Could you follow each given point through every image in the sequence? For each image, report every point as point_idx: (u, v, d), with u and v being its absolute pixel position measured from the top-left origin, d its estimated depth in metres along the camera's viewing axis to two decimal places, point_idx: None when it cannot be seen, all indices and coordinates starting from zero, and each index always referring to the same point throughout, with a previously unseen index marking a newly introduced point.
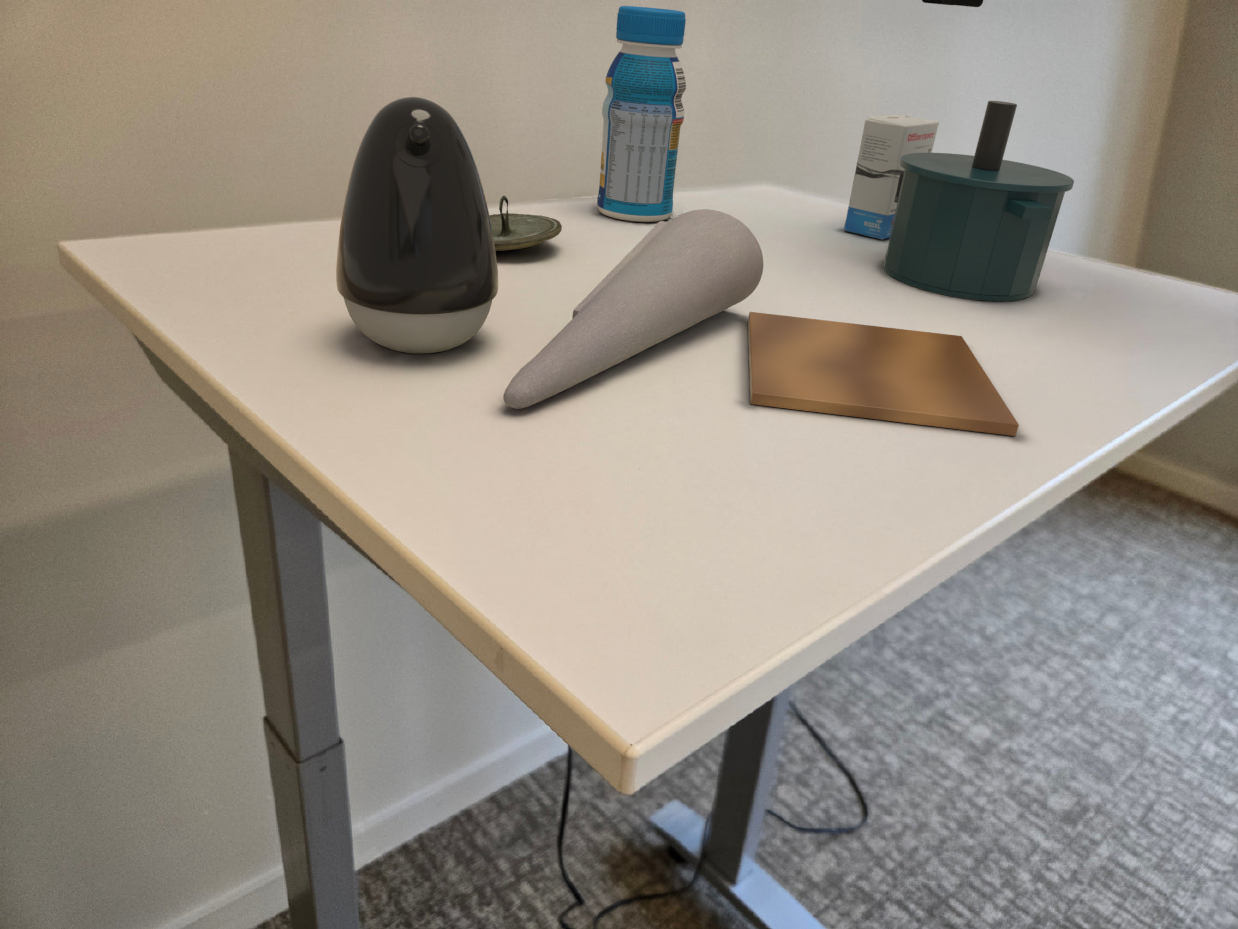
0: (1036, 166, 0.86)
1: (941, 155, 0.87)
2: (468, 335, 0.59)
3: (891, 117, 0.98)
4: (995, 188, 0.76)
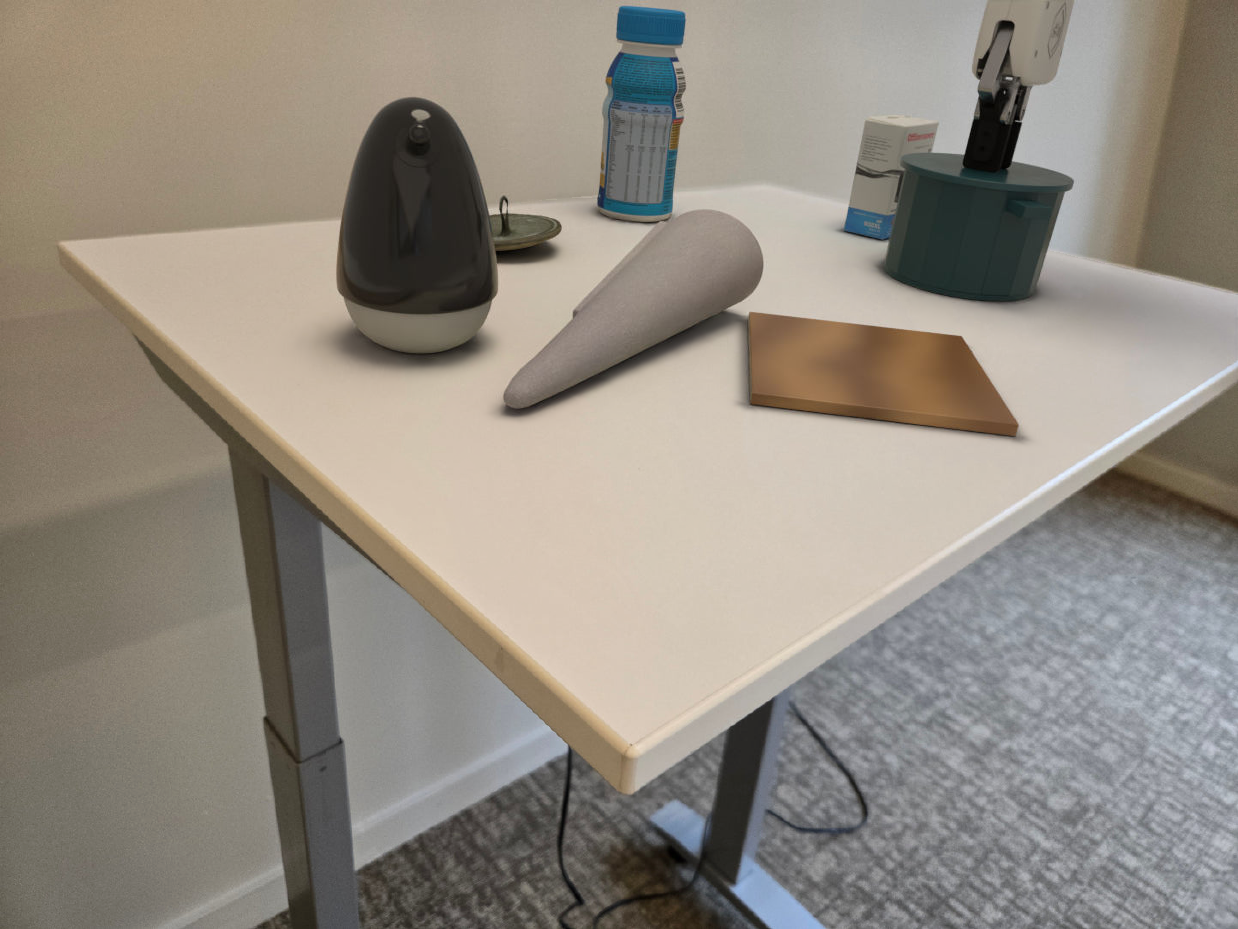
0: (1036, 166, 0.86)
1: (941, 155, 0.87)
2: (468, 335, 0.59)
3: (891, 117, 0.98)
4: (995, 188, 0.76)
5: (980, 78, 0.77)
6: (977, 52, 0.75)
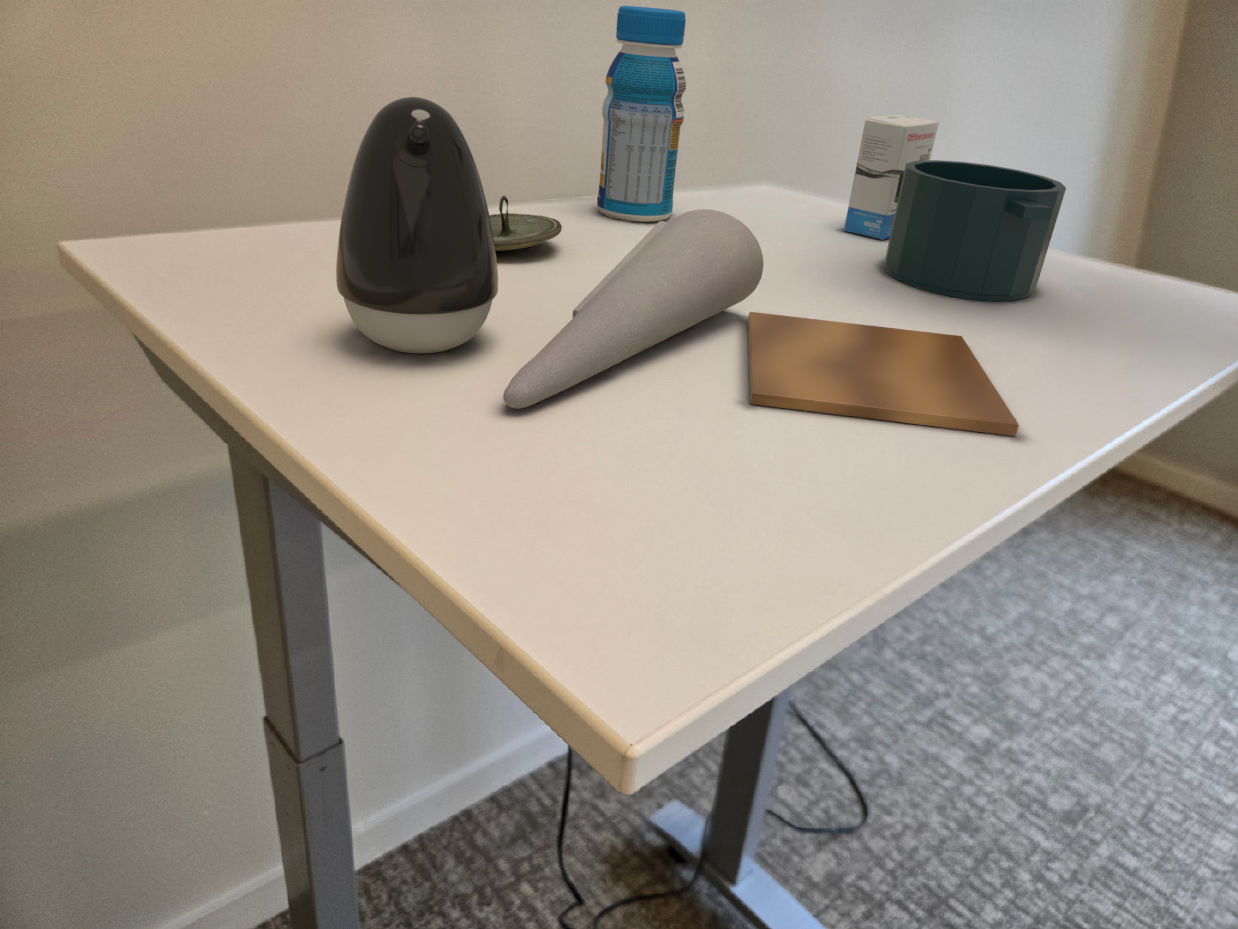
0: None
1: None
2: (468, 335, 0.59)
3: (891, 117, 0.98)
4: None
5: None
6: None
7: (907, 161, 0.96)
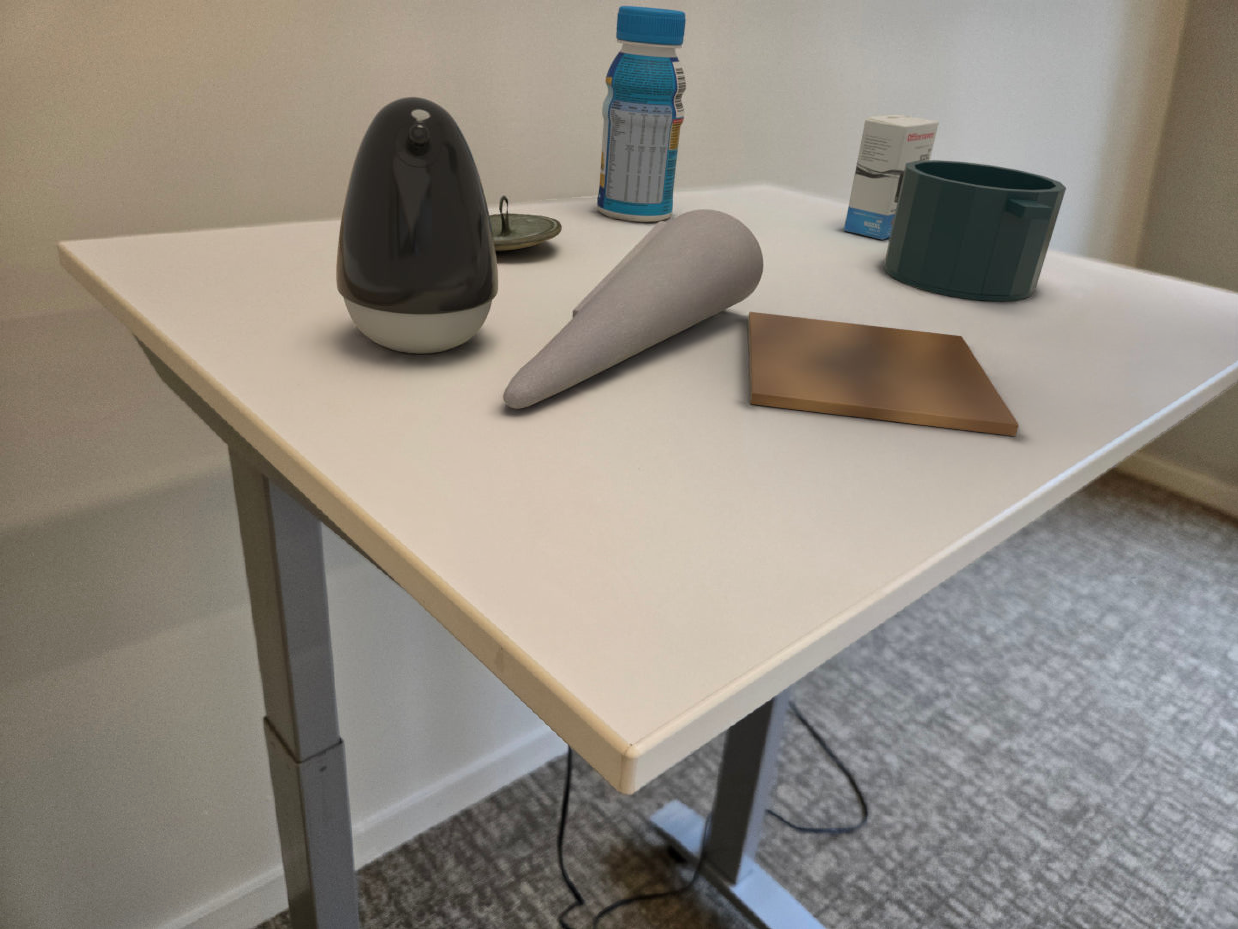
0: None
1: None
2: (468, 335, 0.59)
3: (891, 117, 0.98)
4: None
5: None
6: None
7: (907, 161, 0.96)
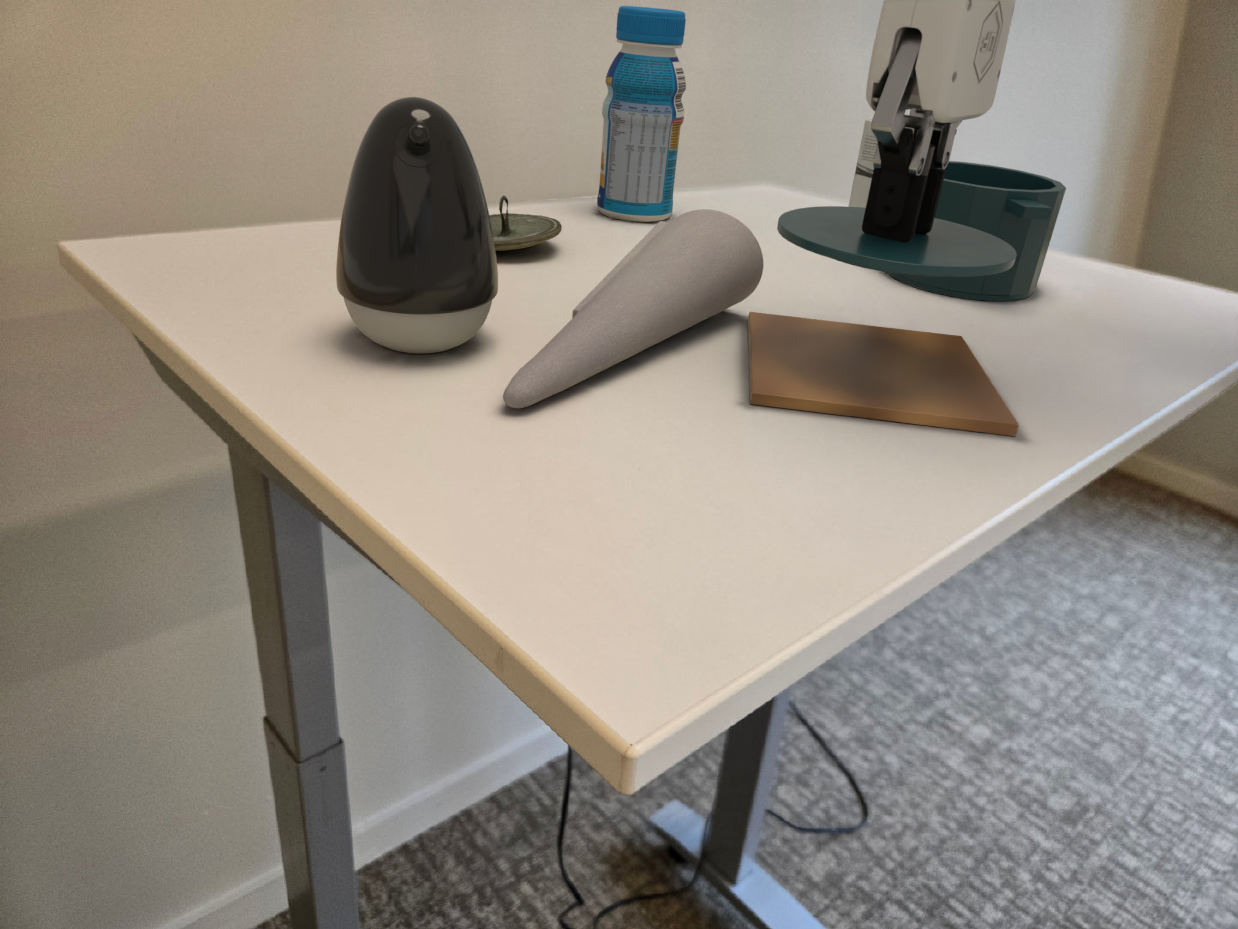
0: (969, 227, 0.62)
1: (840, 211, 0.63)
2: (468, 335, 0.59)
3: None
4: (898, 270, 0.52)
5: None
6: (871, 73, 0.52)
7: None
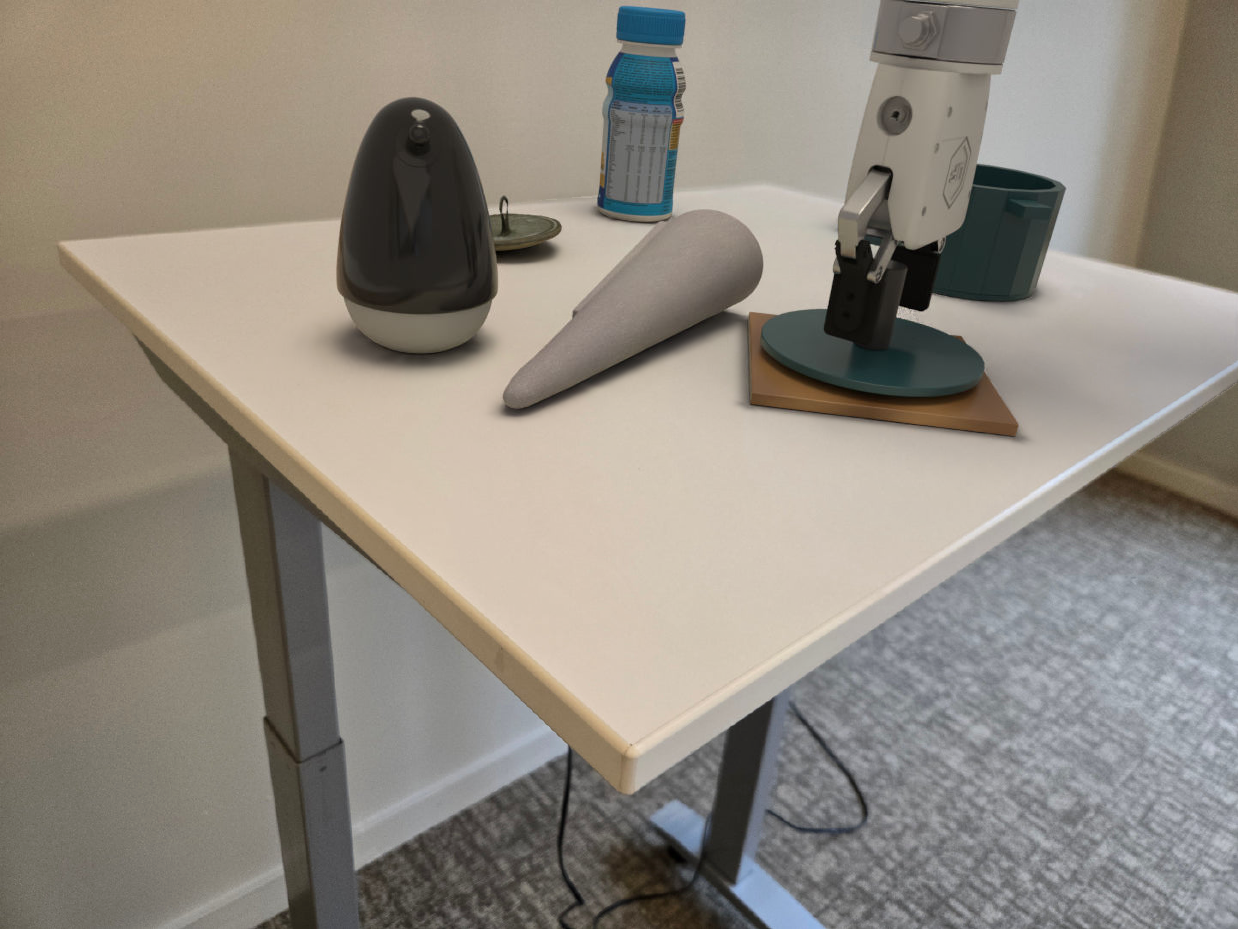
0: (943, 332, 0.66)
1: (821, 315, 0.67)
2: (468, 335, 0.59)
3: None
4: (871, 391, 0.56)
5: None
6: None
7: None
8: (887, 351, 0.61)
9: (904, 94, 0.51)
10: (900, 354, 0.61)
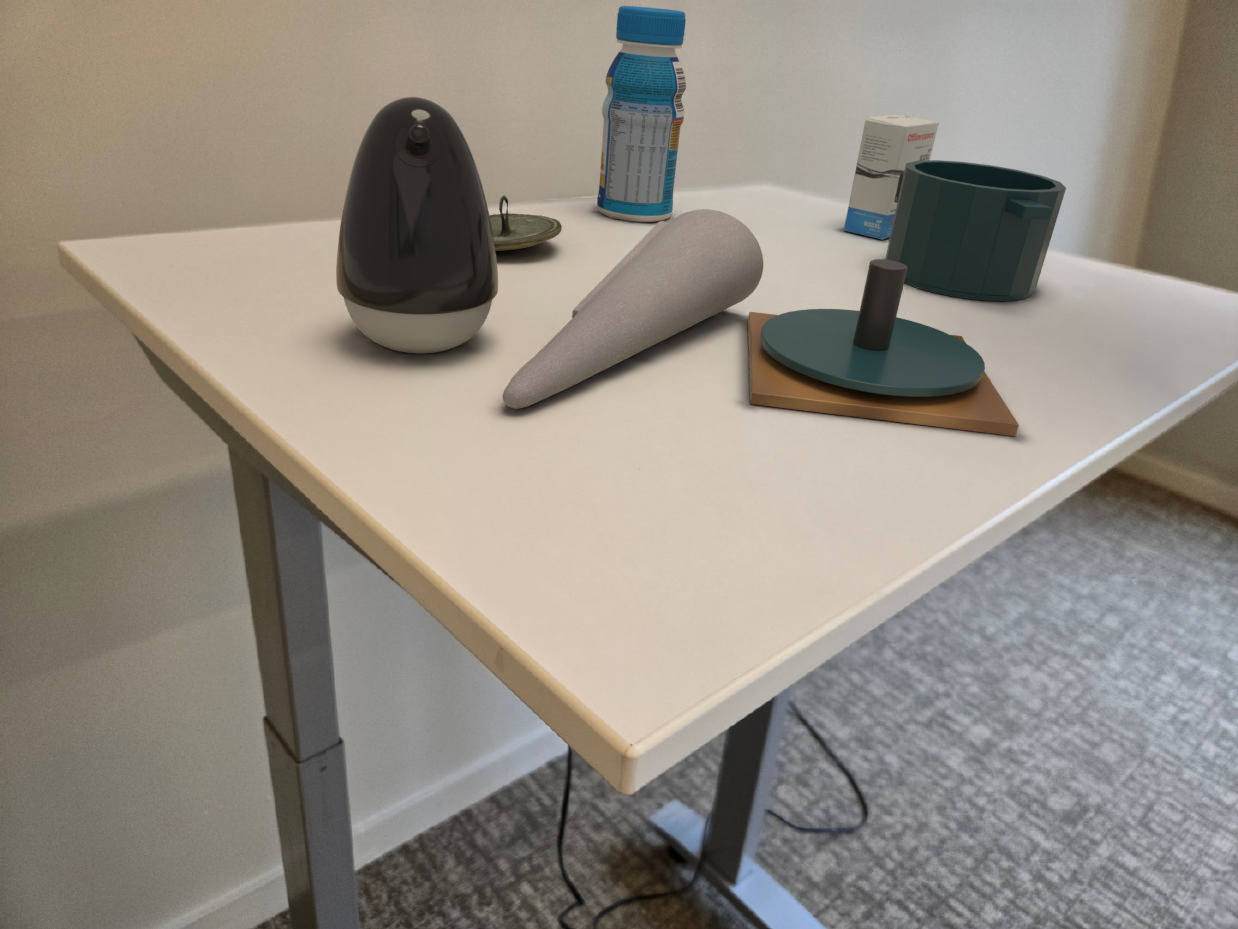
0: (943, 332, 0.66)
1: (821, 315, 0.67)
2: (468, 335, 0.59)
3: (891, 117, 0.98)
4: (871, 391, 0.56)
5: None
6: None
7: (907, 161, 0.96)
8: (887, 351, 0.61)
9: None
10: (900, 354, 0.61)
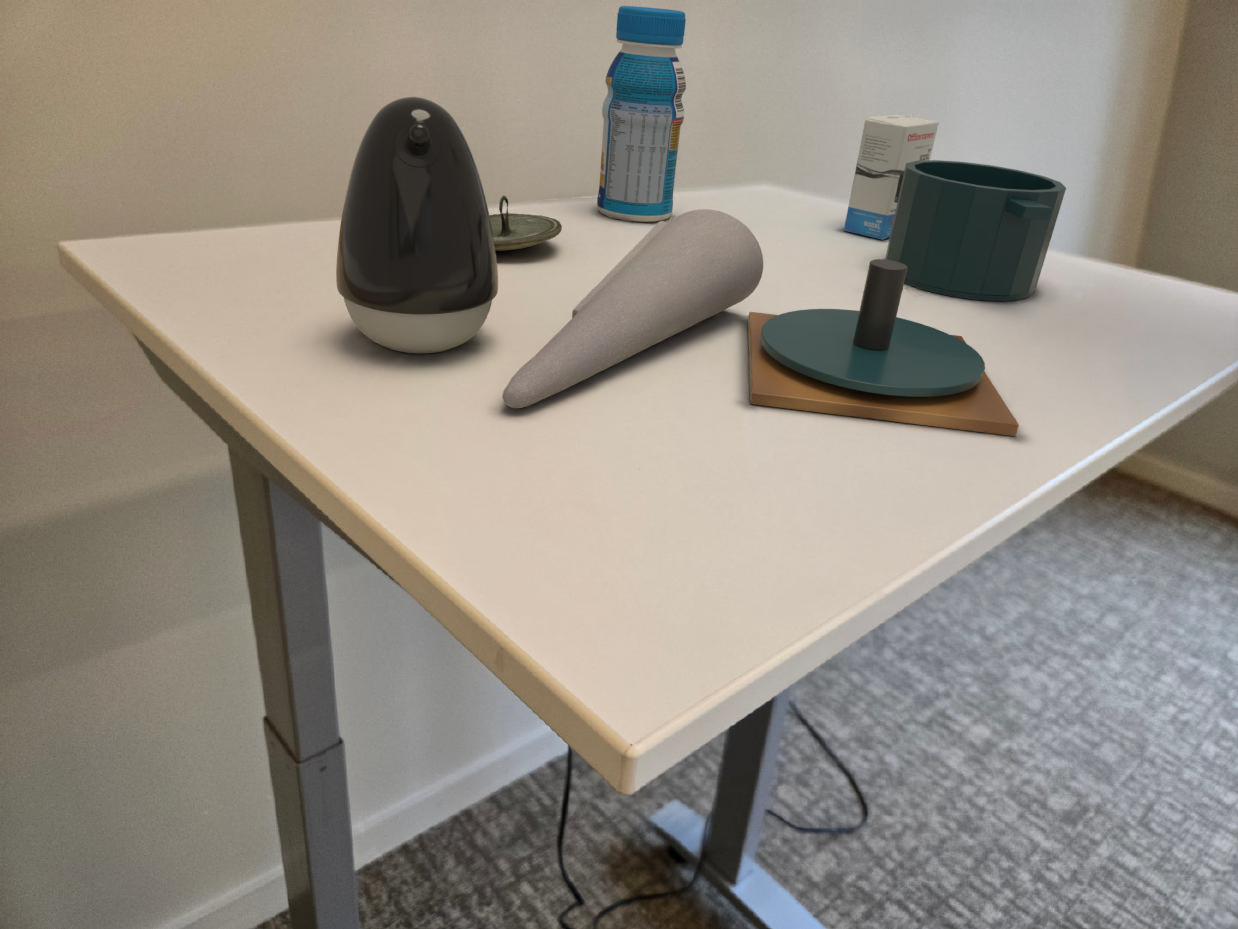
0: (943, 332, 0.66)
1: (821, 315, 0.67)
2: (468, 335, 0.59)
3: (891, 117, 0.98)
4: (871, 391, 0.56)
5: None
6: None
7: (907, 161, 0.96)
8: (887, 351, 0.61)
9: None
10: (900, 354, 0.61)
